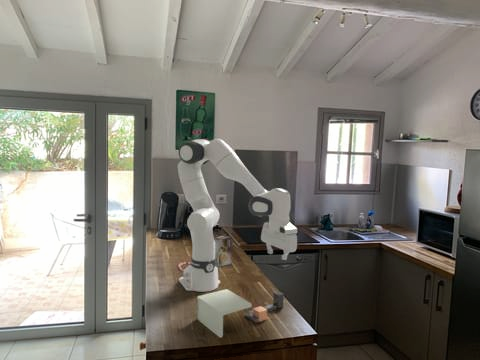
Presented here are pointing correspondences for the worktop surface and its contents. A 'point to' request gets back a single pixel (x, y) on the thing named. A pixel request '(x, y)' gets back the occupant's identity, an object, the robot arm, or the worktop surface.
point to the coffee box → (222, 250)
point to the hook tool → (276, 305)
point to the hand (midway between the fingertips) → (276, 256)
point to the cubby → (218, 308)
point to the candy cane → (182, 264)
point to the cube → (260, 313)
